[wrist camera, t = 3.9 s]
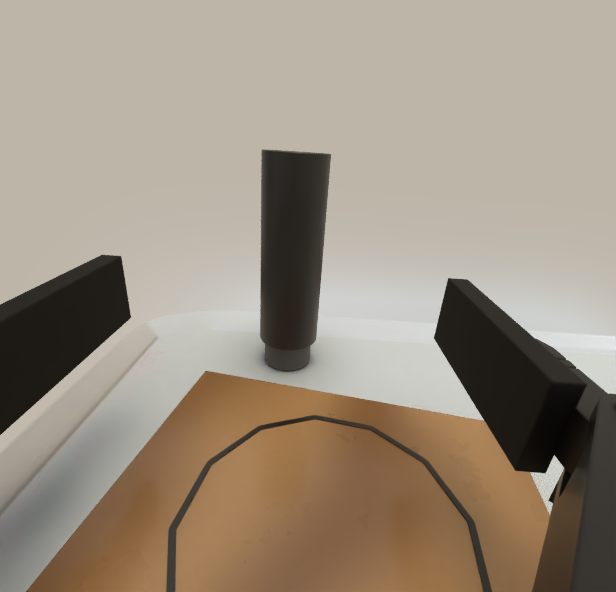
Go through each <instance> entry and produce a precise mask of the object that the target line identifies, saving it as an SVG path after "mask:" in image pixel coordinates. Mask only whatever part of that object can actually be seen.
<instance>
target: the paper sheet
mask: <svg viewBox="0 0 616 592" xmlns="http://www.w3.org/2000/svg"><path fill="white" fill-rule="evenodd" d="M549 519H550V515H549V513H548V511H547V509H546V506H545V504H544V502H543V500H542V498H541V496H540V493H539V491H538V489H537V487H536V485H535V483H534V480H533V478H532V476H531V474H530V472H523V471H515V470H514V468H513V466H512V465H511V463H510V461H509V460H508V458H507V457H506V455H505V453H504V452H503V450H502V448H501V447H500V445H499V444H498V442H497V440H496V439H495V437H494V435H493V434H492V432H491V430H490V429H489V427H488V426H487V424H486V422H485V421H481V420H476V419H470V418H464V417H459V416H453V415H448V414H442V413H437V412H431V411H426V410H420V409H415V408H409V407H403V406H398V405H392V404H387V403H381V402H376V401H370V400H365V399H359V398H353V397H348V396H342V395H337V394H331V393H326V392H320V391H315V390H309V389H304V388H298V387H292V386H287V385H281V384H276V383H270V382H265V381H259V380H254V379H248V378H243V377H237V376H231V375H226V374H220V373H215V372H209V371H205V373H204V374H203V375H202V376H201V378H200V379H199V380H198V381H197V382H196V384H195V385H194V386H193V387H192V389H191V390H190V391H189V392H188V394H187V395H186V396H185V397H184V398H183V400H182V401H181V402H180V403H179V405H178V406H177V407H176V408H175V409H174V411H173V412H172V413H171V414H170V416H169V417H168V418H167V419H166V421H165V422H164V423H163V424H162V425H161V427H160V428H159V429H158V430H157V432H156V433H155V434H154V435H153V437H152V438H151V439H150V440H149V441H148V443H147V444H146V445H145V446H144V448H143V449H142V450H141V451H140V452H139V454H138V455H137V456H136V457H135V459H134V460H133V461H132V462H131V464H130V465H129V466H128V467H127V468H126V470H125V471H124V472H123V473H122V475H121V476H120V477H119V478H118V480H117V481H116V482H115V483H114V484H113V486H112V487H111V488H110V489H109V491H108V492H107V493H106V494H105V496H104V497H103V498H102V499H101V500H100V502H99V503H98V504H97V505H96V507H95V508H94V509H93V510H92V511H91V513H90V514H89V515H88V516H87V518H86V519H85V520H84V521H83V523H82V524H81V525H80V526H79V527H78V529H77V530H76V531H75V532H74V534H73V535H72V536H71V537H70V539H69V540H68V541H67V542H66V543H65V545H64V546H63V547H62V548H61V550H60V551H59V552H58V553H57V554H56V556H55V557H54V558H53V559H52V561H51V562H50V563H49V564H48V566H47V567H46V568H45V569H44V570H43V572H42V573H41V574H40V575H39V577H38V578H37V579H36V580H35V582H34V583H33V584H32V585H31V586H30V588H29V589H28V590H27V591H26V592H532V589H533V585H534V581H535V577H536V573H537V569H538V565H539V560H540V556H541V552H542V548H543V544H544V540H545V536H546V531H547V527H548V523H549Z"/></svg>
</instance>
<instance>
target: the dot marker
mask: <svg viewBox="0 0 616 592" xmlns="http://www.w3.org/2000/svg"><path fill="white" fill-rule="evenodd" d="M330 159H331V154H324V153H310V152H295V151H280V150H262V180H261V182H262V183H261V193H262V194H261V318H260V337H261V339H262V341H263V342H264V343H265V360H266V362H267V363H268V364H269V365H270V366H271V367H273V368H275V369H278V370H283V371H293V370H298V369H301V368H303V367H304V366H306V365H307V364H308V362H309V359H310V346H311V345H312V344H313V343H314V342H315V340H316V332H317V320H318V307H319V295H320V283H321V271H322V258H323V246H324V234H325V222H326V209H327V196H328V185H329V172H330Z"/></svg>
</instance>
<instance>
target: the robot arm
mask: <svg viewBox="0 0 616 592" xmlns="http://www.w3.org/2000/svg"><path fill="white" fill-rule="evenodd" d="M130 318H131V315H130V309H129V302H128V296H127V290H126V284H125V277H124V271H123V265H122V259H121V256H109V255H101V256H99V257H97V258H95V259H93V260H91V261H89V262H87V263H85V264H83V265H80V266H78V267H76V268H74V269H72V270H70V271H68V272H66V273H64V274H62V275H60V276H58V277H56V278H54V279H52V280H50V281H48V282H46V283H44V284H42V285H40V286H37V287H35V288H34V289H31V290H29V291H27V292H25V293H23V294H21V295H19V296H17V297H15V298H13V299H11V300H9V301H7V302H5V303H3V304H1V305H0V435H1V434H2V433H3V432H4V431H5V430H6V429H7V428H9V427H10V426H11V425H12V424H13V423H14V422H15V421H16V420H17V419H19V418H20V417H21V416H22V415H23V414H24V413H25V412H26V411H27V410H28V409H30V408H31V407H32V406H33V405H34V404H35V403H36V402H37V401H39V400H40V399H41V398H42V397H43V396H44V395H45V394H46V393H48V392H49V391H50V390H51V389H52V388H53V387H54V386H55V385H56V384H58V383H59V382H60V381H61V380H62V379H63V378H64V377H65V376H66V375H68V374H69V373H70V372H71V371H72V370H73V369H74V368H75V367H76V366H77V365H79V364H80V363H81V362H82V361H83V360H84V359H85V358H87V357H88V356H89V355H90V354H91V353H92V352H93V351H94V350H95V349H96V348H98V347H99V346H100V345H101V344H102V343H103V342H104V341H105V340H106V339H108V338H109V337H110V336H111V335H112V334H113V333H114V332H115V331H117V330H118V329H119V328H120V327H121V326H122V325H123V324H124V323H126V321H128V320H129V319H130ZM434 339H435V341H436V342H437V344H438V345H439V347H440V349H441V350H442V352H443V354H444V355H445V357H446V359H447V360H448V362H449V363H450V365H451V367H452V368H453V370H454V372H455V373H456V375H457V377H458V378H459V380H460V381H461V383H462V385H463V386H464V388H465V390H466V391H467V393H468V395H469V396H470V398H471V399H472V401H473V403H474V404H475V406H476V408H477V409H478V411H479V412H480V414H481V416H482V417H483V419H484V421H485V422H486V424H487V426H488V427H489V429H490V430H491V432H492V434H493V435H494V437H495V439H496V440H497V442H498V444H499V445H500V447H501V448H502V450H503V452H504V453H505V455H506V457H507V458H508V460H509V461H510V463H511V465H512V466H513V468H514V470H515V471H523V472H538V473H546V471H547V469H548V467H549V464H550V462H551V460H552V458H553V456H554V455H555V456H556V458H557V459H558V460H559V461H560V463H561V464H562V465H563V467H564V470H563V472H562V474H561V476H560V478H559V480H558V482H557V484H556V486H555V488H554V490H553V492H552V494H551V496H550V498H549V500H548V501H550V502H552V503H553V506H552V511H551V515H550V519H549V523H548V527H547V531H546V536H545V540H544V544H543V548H542V552H541V556H540V560H539V565H538V569H537V573H536V577H535V581H534V585H533V589H532V592H616V394H607V393H606V392H605V391H604V390H603V389H602V388H600V387H599V386H598V385H597V384H596V383H594V382H593V381H592V380H591V379H590V378H589V377H587V376H586V375H585V374H584V373H583V372H581V371H580V370H579V369H576V367H575V366H574V365H573V364H572V363H571V362H570V361H568V360H566V358H565V357H564V356H562V355H561V354H560V353H559V352H558V351H557V350H555V349H554V348H553V347H551V346H549V345H547V344H545V343H543V342H541V341H540V340H538V339H535V338H534V337H532V336H531V335H530V334H529V333H528V332H527V331H526V330H524V329H523V328H522V327H521V326H520V325H519V324H518V323H516V322H515V321H514V320H513V319H512V318H511V317H509V316H508V315H507V314H506V313H505V312H504V311H503V310H502V309H500V308H499V307H498V306H497V305H496V304H495V303H493V302H492V301H491V300H490V299H489V298H488V297H487V296H485V295H484V294H483V293H482V292H481V291H480V290H479V289H478V288H476V287H475V286H474V285H473V284H472V283H471V282H470V281H468V280H464V279H451V278H449V279H448V282H447V286H446V290H445V294H444V298H443V303H442V307H441V311H440V315H439V319H438V324H437V328H436V332H435V336H434Z"/></svg>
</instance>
